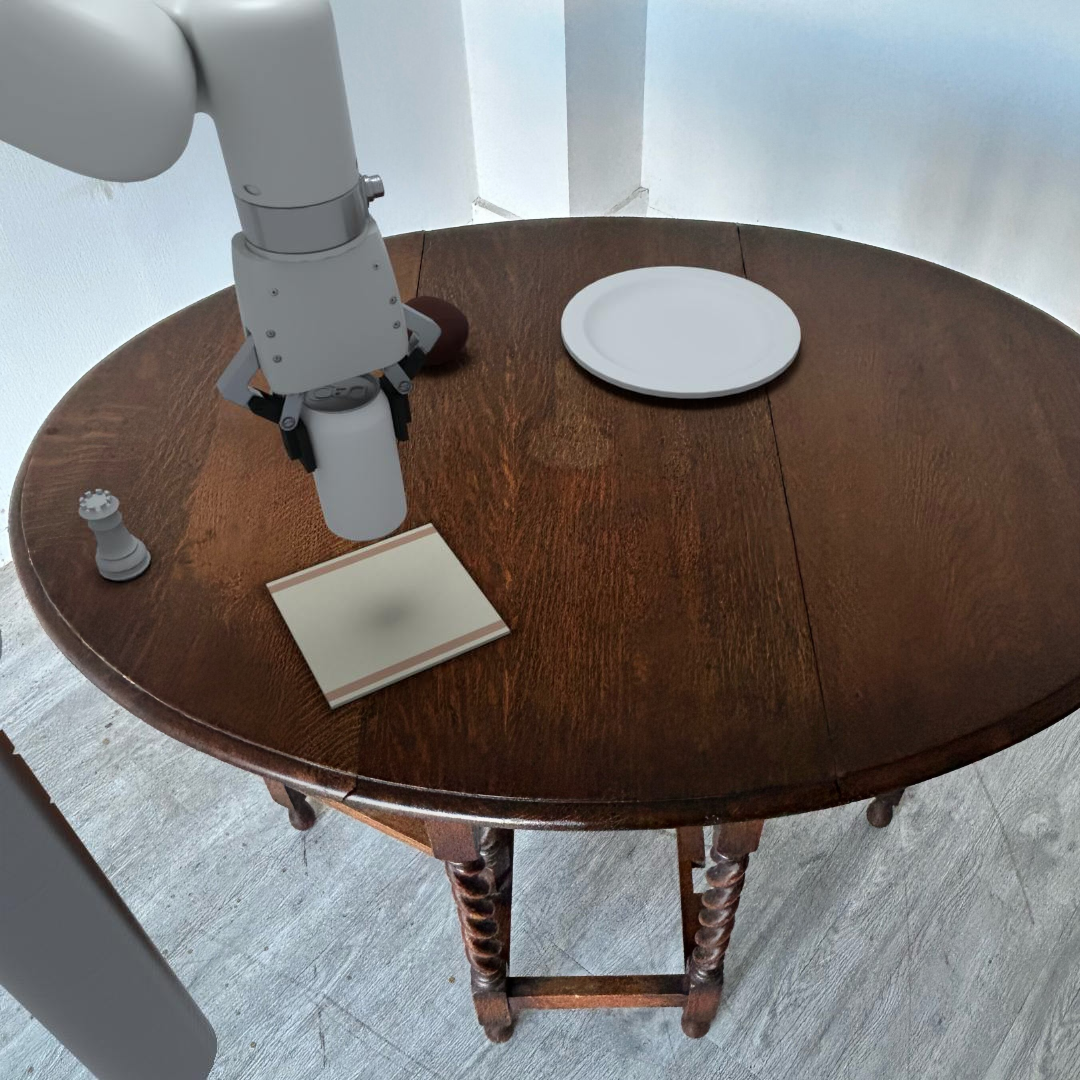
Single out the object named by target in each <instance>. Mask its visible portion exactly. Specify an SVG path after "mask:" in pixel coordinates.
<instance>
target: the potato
mask: <svg viewBox="0 0 1080 1080" xmlns="http://www.w3.org/2000/svg"><path fill="white" fill-rule="evenodd" d="M403 304H405V305H407V306H409V307H411V308H412V309H414V310H416V311H418V312H420V313H421V314H423V315H425V316H427V317H429V318H430V319H432V320H433V321H434V322H435V323H436V324H437V325H438V326H439V327H440V328H441V335H440V337H439V338H438V340H437V341H436V343H435V344H434V346H433V347H432V349H431V351H430V352H428V353H427V355H426V361H425V363H424V365H423V366H438V365H440V364H443V363H446V362H448V361H450V360H452V359H453V358H455V357H456V356H457V355H458V354H459V353H460V352H461V351H462V350H463V349H464V347H465V345H466V343H467V342H468V339H469V334H470V333H469V331H470V330H469V329H470V327H469V326H470V323H469V321H468V318H467V316H466V315H465V314H464V313H463V312H462V311H461V310H460V309H459V308H458V307H457V306H455V305H454V304H453V303H451V302H449V301H447V300H445V299H443V298H440V297H436V296H430V295H421V296H417V297H412V298H410V299H409V300H407V301H406V302H403ZM412 333H413V332H412V331H410V330H408V329H407V334H408V341H410V337H411V336H412Z"/></svg>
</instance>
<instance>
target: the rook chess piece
mask: <svg viewBox="0 0 1080 1080" xmlns="http://www.w3.org/2000/svg"><path fill="white" fill-rule="evenodd" d="M84 496H85V497H84ZM84 496H80V498H79V500H78V503H79V508H78V510H77V511H78V515H79V516H80V517H82V519H85V520H86V521H87V527H88V528H89V529H90V530H92V531H93V533H94V536H95V540H96V542H97V547H96V553H95V556H94V559H95V563H96V567H97V568H98V572H99V574H100V575H101V576H102V577H103V578H105V579H108V580H111V581H115V582H125V581H128V580H133V579H135V578H137V577H138V576H140V575H142V574H144V573H143V572H145V570H146V569H148V567H149V564H150V561H151V558H152V557H151V554H150V552H149V551H148V550H147V547H146V544H144V542H143V541H141V540H140V539H139V538H137V537H136V536H135V535H134V534H131V533H130V532H129V529H127V527H126V526H125V524H124V523H123V515H122V513H121V512H120V511H119V510H118V509H119V506H120V501H119V498H117V497H116V496H114V495H112V494H111V492H110V491H109V490H108V489H106V490H103V489H102V488H95V493H93V494H92V492H91V491H90V490H88V491H86V492H85V493H84Z"/></svg>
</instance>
